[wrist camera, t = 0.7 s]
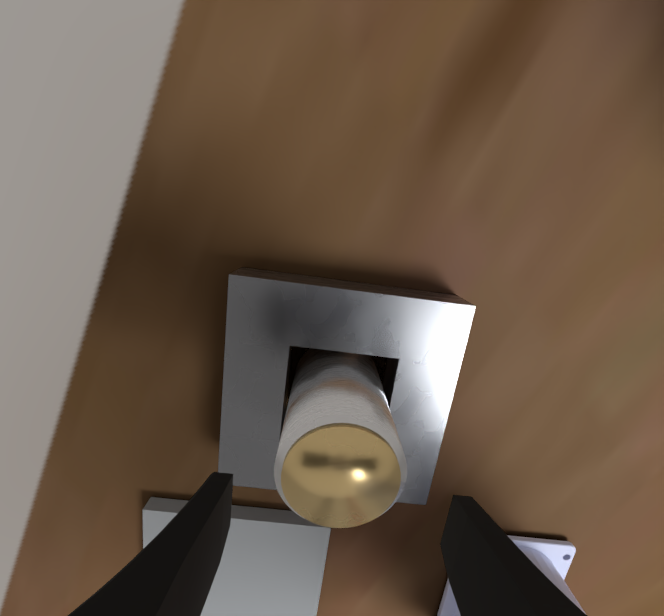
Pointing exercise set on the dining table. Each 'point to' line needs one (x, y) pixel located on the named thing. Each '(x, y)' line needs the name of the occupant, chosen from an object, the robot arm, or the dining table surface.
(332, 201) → the dining table surface
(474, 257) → the dining table surface
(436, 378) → the housing
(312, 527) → the mat
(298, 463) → the white gold-topped cylinder
